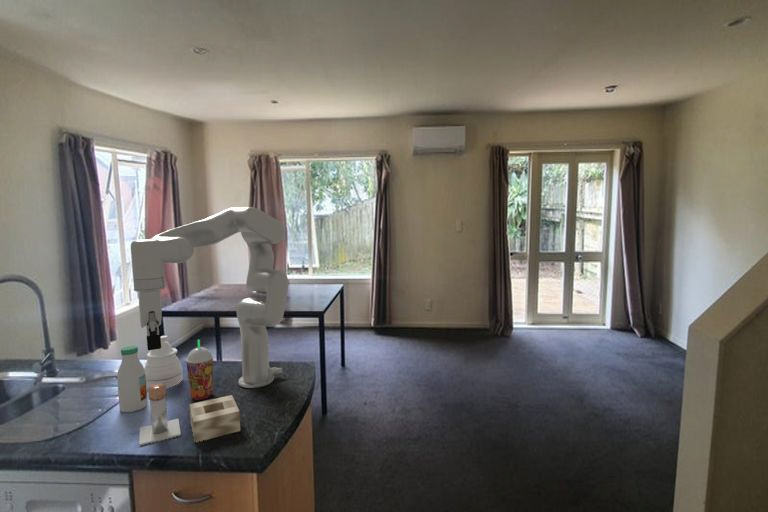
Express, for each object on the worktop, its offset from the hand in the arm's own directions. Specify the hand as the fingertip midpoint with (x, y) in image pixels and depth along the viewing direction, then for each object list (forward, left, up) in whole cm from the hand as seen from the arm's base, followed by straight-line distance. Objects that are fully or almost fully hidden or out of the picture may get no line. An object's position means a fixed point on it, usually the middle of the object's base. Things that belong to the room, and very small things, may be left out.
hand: (154, 344), depth 113 cm
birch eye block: (-14, +5, -26) cm, 30 cm away
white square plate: (0, 0, -26) cm, 26 cm away
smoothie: (-13, -19, -26) cm, 35 cm away
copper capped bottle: (0, 0, -25) cm, 25 cm away
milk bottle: (+7, -22, -26) cm, 35 cm away
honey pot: (-2, -39, -26) cm, 47 cm away
